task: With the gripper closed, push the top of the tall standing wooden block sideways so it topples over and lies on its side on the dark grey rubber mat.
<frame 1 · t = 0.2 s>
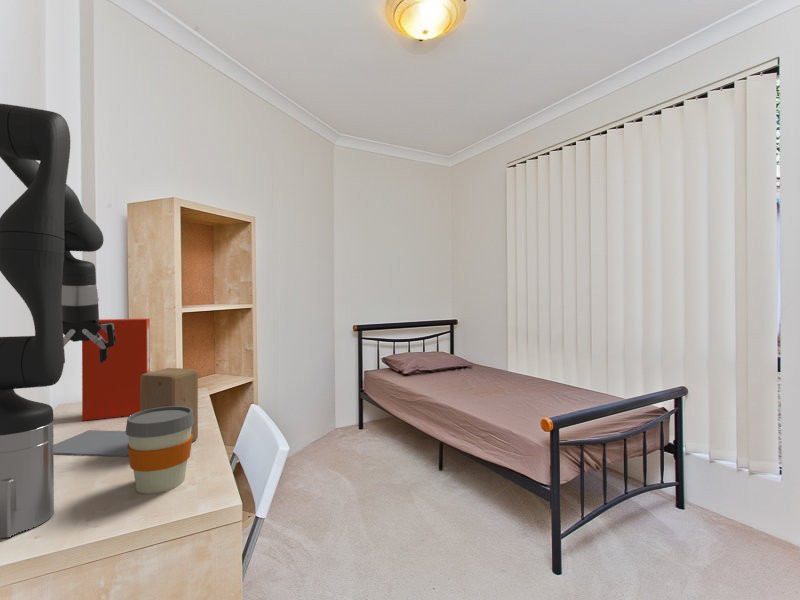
hand: (82, 363, 102), 23 cm above the table, tool pointing down, fingers open, 8 cm apart
file binder: (118, 415, 131), on the table
reusable coffee cup: (161, 484, 84), on the table
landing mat: (106, 442, 106), on the table
wooden block: (170, 445, 105), on the table
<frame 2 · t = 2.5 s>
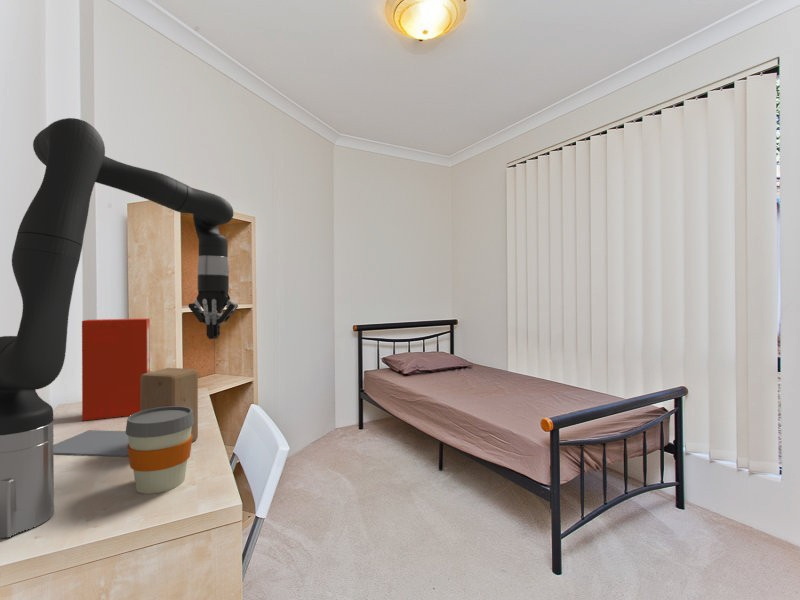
hand: (213, 338, 104), 29 cm above the table, tool pointing down, fingers closed
nothing on the table moved.
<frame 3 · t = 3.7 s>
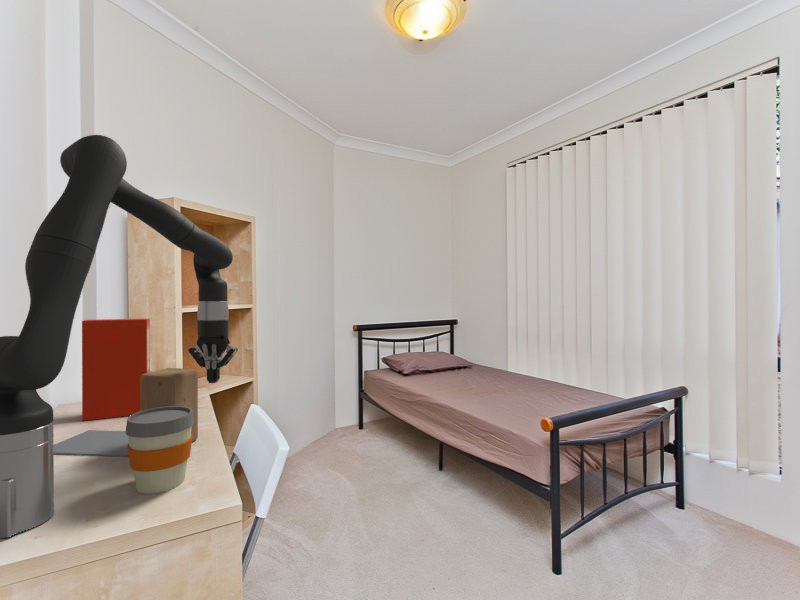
hand: (213, 382, 104), 17 cm above the table, tool pointing down, fingers closed
nothing on the table moved.
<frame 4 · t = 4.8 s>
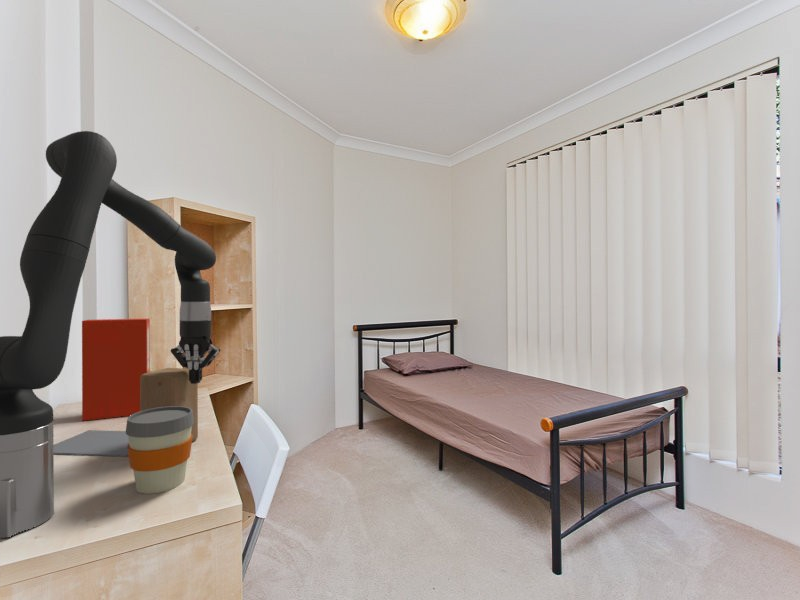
hand: (195, 383, 104), 17 cm above the table, tool pointing down, fingers closed
wooden block: (170, 445, 105), on the table, touching gripper
everything else where it was.
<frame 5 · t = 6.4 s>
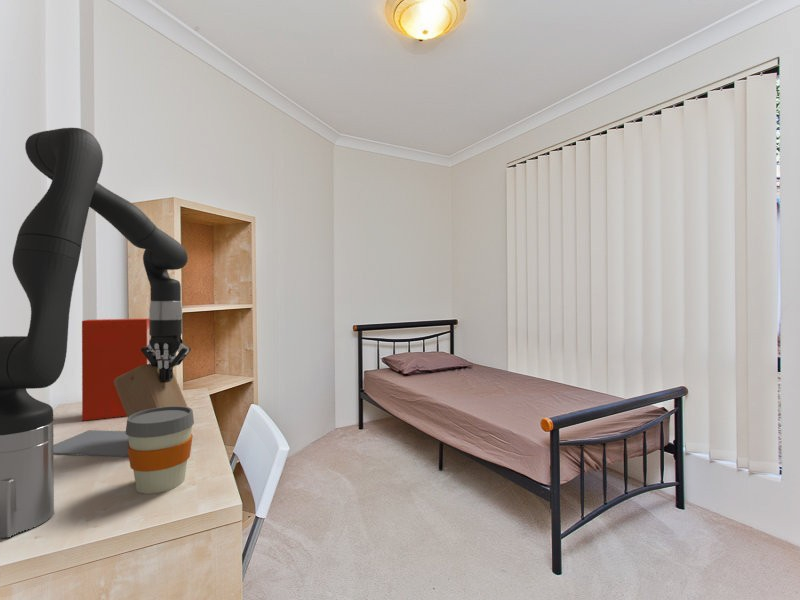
hand: (166, 381, 105), 17 cm above the table, tool pointing down, fingers closed
wooden block: (169, 437, 105), point 2 cm above the table
everything else where it was.
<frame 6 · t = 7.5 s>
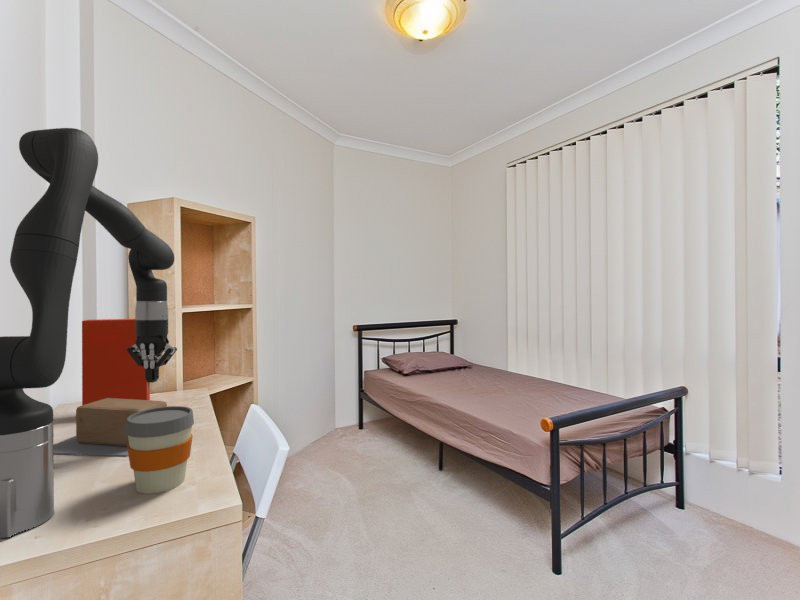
hand: (152, 381, 105), 17 cm above the table, tool pointing down, fingers closed
wooden block: (155, 423, 106), point 5 cm above the table, touching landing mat
everything else where it was.
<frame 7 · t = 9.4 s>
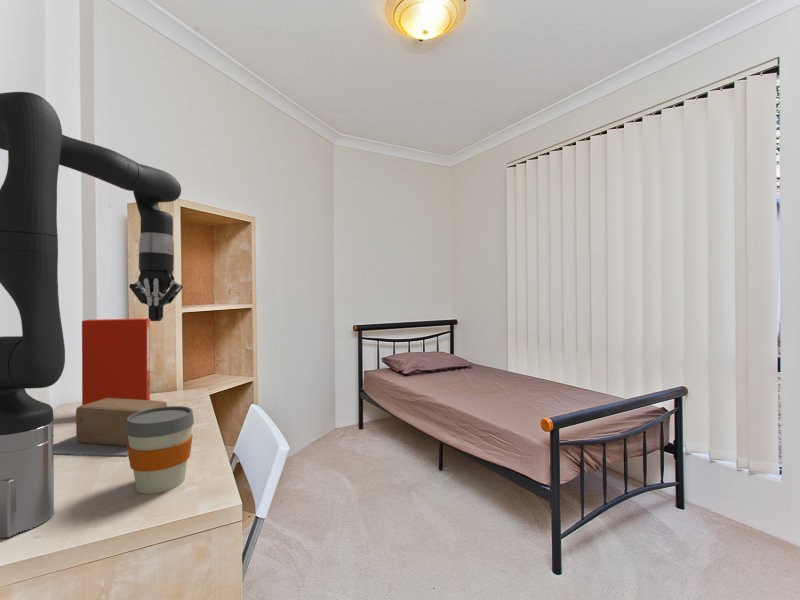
hand: (155, 320, 98), 34 cm above the table, tool pointing down, fingers closed
nothing on the table moved.
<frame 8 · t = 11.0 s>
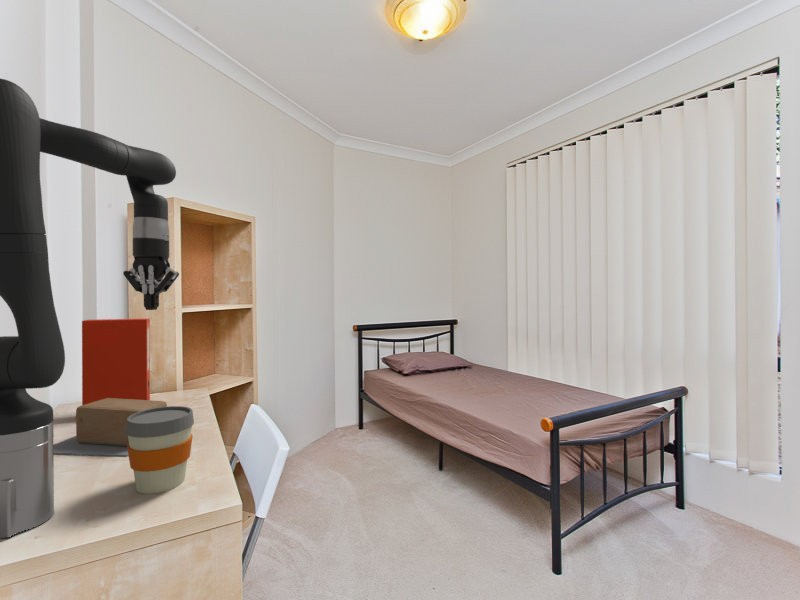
hand: (151, 309, 94), 37 cm above the table, tool pointing down, fingers closed
nothing on the table moved.
at the end: wooden block tilted 90°; wooden block inside the target area (1.5 cm from its centre), point 5.4 cm above the table; wooden block touching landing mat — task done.
